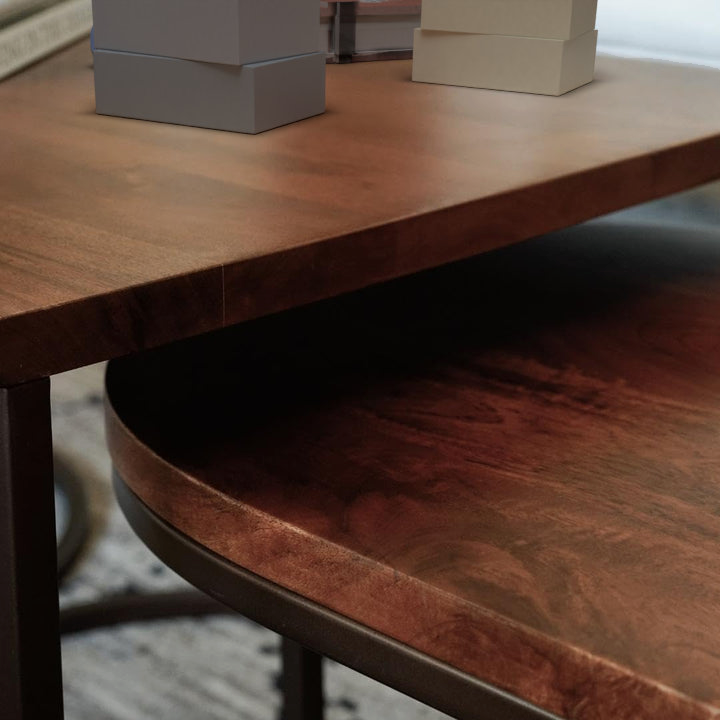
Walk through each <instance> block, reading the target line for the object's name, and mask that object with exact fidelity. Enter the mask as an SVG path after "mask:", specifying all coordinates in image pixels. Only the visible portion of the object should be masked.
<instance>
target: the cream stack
mask: <svg viewBox="0 0 720 720" xmlns="http://www.w3.org/2000/svg"><path fill="white" fill-rule="evenodd" d="M598 3H599V2H598V0H422V7H421V27H419V28H415V29H414V42H413V58H412V70H411V81H412V82H417V83H418V82H419V83H430V84H435V85H436V84H438V85H448V86H457V87H466V88H467V87H469V88H475V89H484V90H485V89H487V90H496V91H506V92H515V93H525V94H535V95H546V96H556V97H559V96H562V95H563V94H567V93H568V92H570V91H573V90H576V89H578V88H580V87H582V86H584V85H587V84H589V83H592V82H593V81H594V75H595V66H596V57H597V56H596V54H597V45H598V35H599V34H598V33H599V30H598V29H596V21H597V12H598V11H597V9H598Z"/></svg>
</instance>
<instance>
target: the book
mask: <svg viewBox="0 0 720 720" xmlns="http://www.w3.org/2000/svg"><path fill="white" fill-rule="evenodd" d="M421 7H422V0H320V26H319V51H325V52H326V64H329V63H330V64H331V63H337V64H350V63H351V64H352V63H353V62H371V61H388V60H406V59H407V60H408V59H413V42H414V29H415V28H419V27H421Z"/></svg>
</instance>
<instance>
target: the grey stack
mask: <svg viewBox="0 0 720 720" xmlns="http://www.w3.org/2000/svg"><path fill="white" fill-rule="evenodd" d="M91 13H92V15H91V16H92V26H93V34H94V48H96V49H98V50H93V54H92V65H93V81H94V82H93V83H94V97H95V98H94V99H95V113H96V114H98V115H105V116H113V117H119V118H127V119H136V120H142V121H149V122H150V121H151V122H159V123H166V124H174V125H182V126H189V127H197V128H205V129H211V130H220V131H227V132H235V133H243V134H250V135H255V134H259V133H262V132H265V131H269V130H271V129H275V128H278V127H281V126H285V125H287V124H291V123H295V122H297V121H302V120H305V119H308V118H311V117H314V116H318V115H321V114H324V113H326V80H327V79H326V76H327V75H326V74H327V73H326V71H327V70H326V69H327V63H326V52H325V51H319V26H320V0H91Z"/></svg>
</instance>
